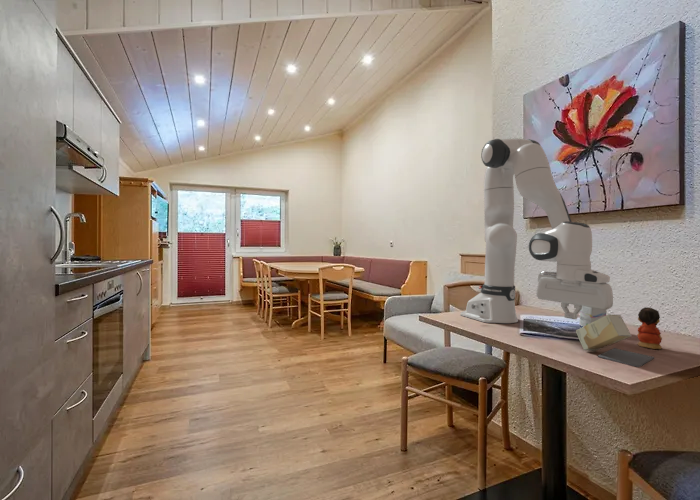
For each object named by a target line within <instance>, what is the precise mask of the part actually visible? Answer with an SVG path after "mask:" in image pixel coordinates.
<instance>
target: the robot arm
mask: <svg viewBox="0 0 700 500" xmlns="http://www.w3.org/2000/svg"><path fill="white" fill-rule="evenodd" d="M480 158H481V161H482V163H483V165H484V166H486V169H485V172H484V180H483V200H484V201H483V202H484V203H483V204H484V210H483V211H484V215H483V216H484V223H483V224H484V242H485V257H484V258H485V259H484V283H483V284H482V285H478V289H479V290H480V292H479V293H478V294H476V295H475V296H474V297H472V298H471V299H469V300H468V301H467V304H466V309H465V310H463V311H461V312H460V316H463V317H466V318H469V319H472V320H476V321H480V322H483V323H488V324H489V323H493V324H494V323H495V324H496V323H497V324H513V323H518V322H519V320H518V316H517V311H516V305H515V303H516V302H515V300H516V286H515V266H516V265H515V264H516V256H517V244H518V243H517V242H518V241H517V240H518V236H517V235H518V234H517V232H516V229H515V228H514V214H515V213H514V212H515V193H514V191H515V190H514V179H515V184H516V185H515V186H516V188H517V190H518V193H519V194H520V196H521V197H523V198H524V199H526V200H527V201H529V202H531V203H533V204H535V205H537V206H538V207H539V208H541V209H542V210H543V211H544V212H545V214H546V215H547V218H548V222H549V224H550V226H551V229H549V230H546V231H542V232H538V233H536V234H534V235H533V236H532V237H531V238H530V240H529V243H528V251H529V255H531V257H532V258H533V259H535V260H537V261H540V262H554V263H555V262H556V271H555V272H554V271H542V272H540V273H539V274H538V276H537V282H538V283H537V288H536V293H535V294H536V295H535V296H536V297H537V299H539V300H543V301H550V302H555V303H556V302H557V303H560V307H561V309H562V311H563V313H564V318H565V319H571V320H578V315H579V314H580V310H581V309H582V306H586V307H592V308H598V309H604V310H606V309H607V310H609V309H611V308H612V307H613V306H614V294H613V288H612V286H611V285H610V284H609V282H610V280H611V276H609V275H608V274H605V273H602V272H600V271H597V270H594V269H592V262H591V255H592V252H593V234H592V233H593V232H592V228H591V227H590V225H588V224H587V223H584V222H577V221H572V219H571V216H570V213H569V210H568V207H567V205H566V202H565V200H564V197H563V196H562V193H561V191H560V190H559V189H558V187H557V184H556V183H555V180H554V176H553V173H552V170H551V166H550V162H549V159H548V157H547V154H546V152H545V150H544V149H543V147H542V145H541V144H540V143H539V142H538V141H537V140H534V139H529V138H528V139H525V138H516V137H513V138H503V139H500V138H495V139H494V138H493V139H491V140H488V141H487V142H486V143H485V144H484V146H483V147H482V149H481V157H480ZM570 305H573V309H575V310H574V311H573V312H572V311H570V310H569V306H570Z"/></svg>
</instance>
